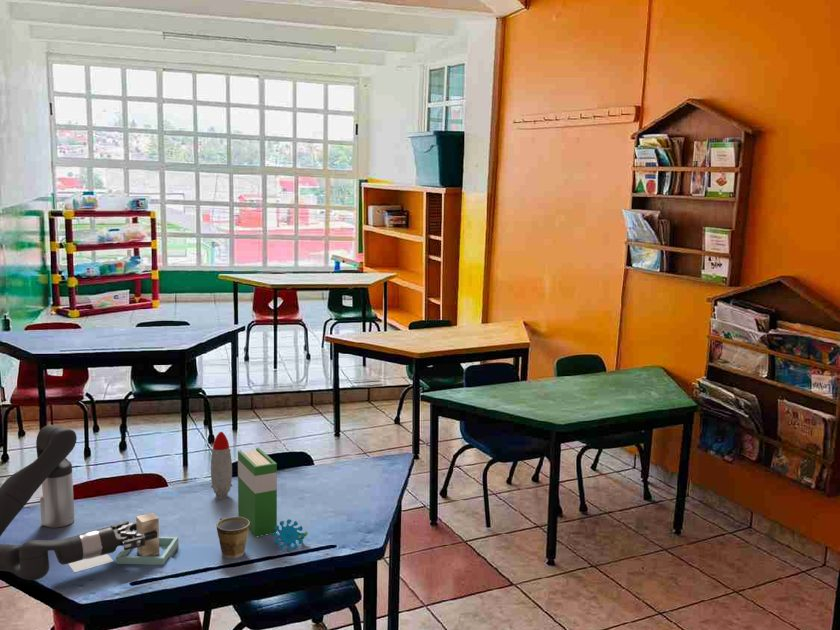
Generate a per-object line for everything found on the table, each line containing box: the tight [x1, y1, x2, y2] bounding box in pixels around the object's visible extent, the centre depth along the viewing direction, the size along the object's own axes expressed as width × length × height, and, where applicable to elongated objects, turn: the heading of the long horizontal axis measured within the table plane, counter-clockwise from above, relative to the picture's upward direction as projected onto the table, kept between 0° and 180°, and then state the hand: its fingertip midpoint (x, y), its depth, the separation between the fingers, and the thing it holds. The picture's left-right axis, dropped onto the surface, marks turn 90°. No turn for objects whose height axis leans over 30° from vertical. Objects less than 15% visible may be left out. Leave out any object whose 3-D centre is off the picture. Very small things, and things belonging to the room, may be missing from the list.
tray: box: [115, 536, 179, 566], centre depth 226 cm, size 14×14×4 cm
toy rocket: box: [210, 431, 233, 500], centre depth 272 cm, size 8×8×25 cm
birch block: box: [135, 512, 160, 556], centre depth 225 cm, size 5×5×12 cm
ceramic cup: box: [216, 516, 250, 559], centre depth 231 cm, size 13×10×10 cm
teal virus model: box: [272, 519, 309, 552], centre depth 238 cm, size 11×6×10 cm
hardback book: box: [237, 447, 278, 538], centre depth 249 cm, size 18×7×24 cm, turn 31°
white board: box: [68, 554, 114, 573], centre depth 221 cm, size 11×11×2 cm
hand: (151, 528), depth 225 cm, fingers open, 8 cm apart
